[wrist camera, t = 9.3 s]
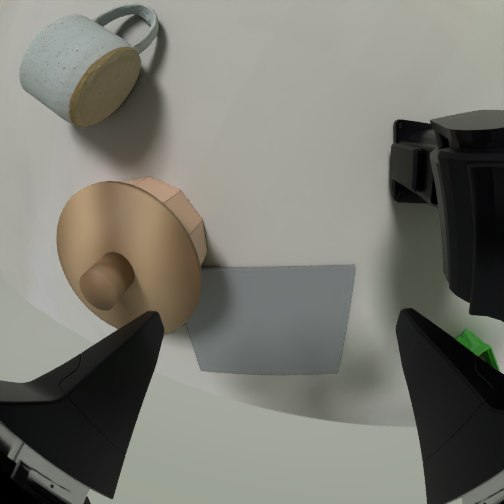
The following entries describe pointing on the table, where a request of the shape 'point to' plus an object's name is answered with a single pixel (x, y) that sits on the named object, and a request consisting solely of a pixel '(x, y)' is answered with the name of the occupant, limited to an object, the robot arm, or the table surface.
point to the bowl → (177, 210)
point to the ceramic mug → (85, 65)
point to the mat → (272, 319)
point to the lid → (128, 255)
